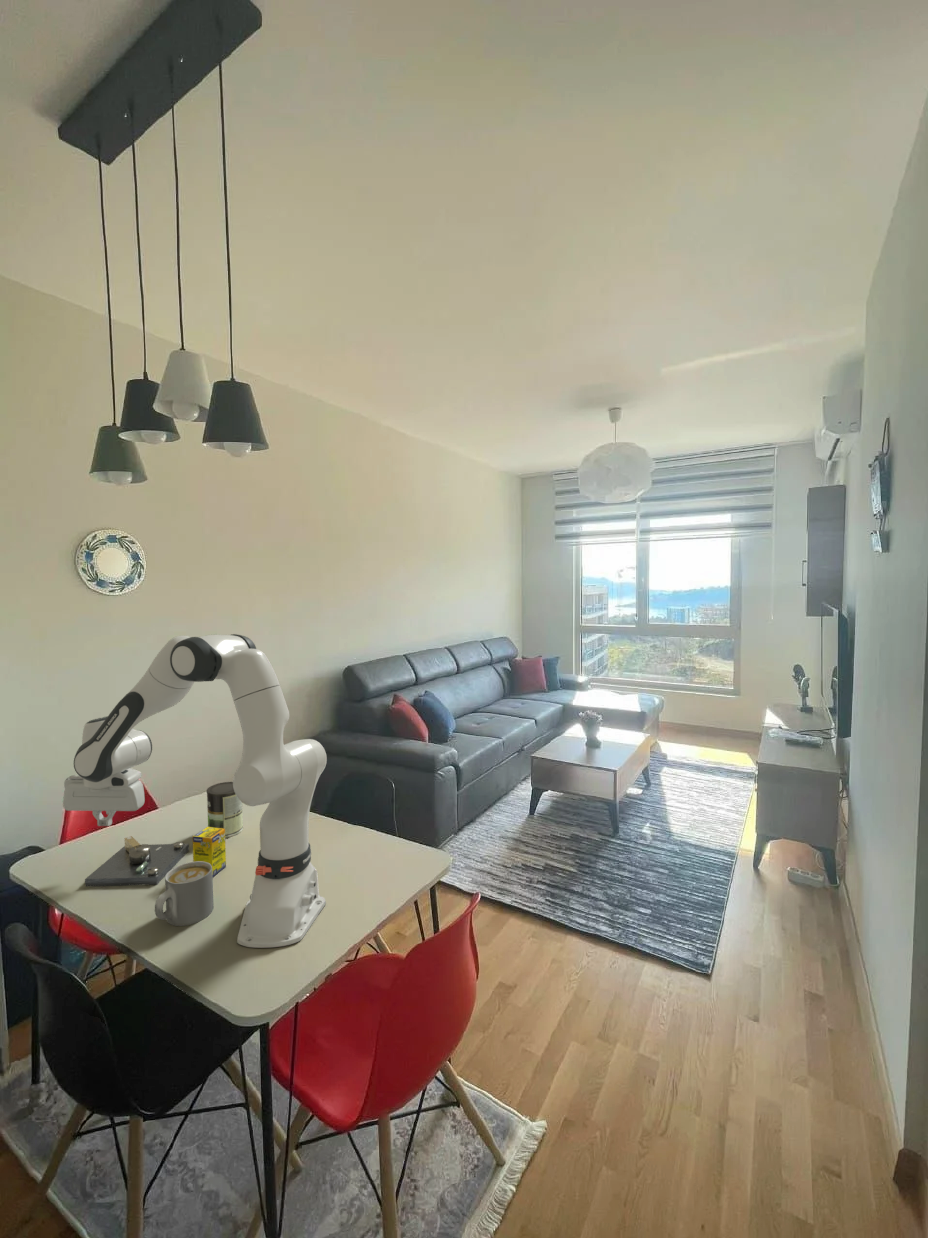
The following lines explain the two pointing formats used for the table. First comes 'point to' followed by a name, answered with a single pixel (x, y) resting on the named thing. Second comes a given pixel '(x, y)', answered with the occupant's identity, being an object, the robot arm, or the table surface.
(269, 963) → the table surface
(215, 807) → the coffee can
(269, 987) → the table surface
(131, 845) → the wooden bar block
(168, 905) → the coffee mug
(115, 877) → the plate
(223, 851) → the supplement box
